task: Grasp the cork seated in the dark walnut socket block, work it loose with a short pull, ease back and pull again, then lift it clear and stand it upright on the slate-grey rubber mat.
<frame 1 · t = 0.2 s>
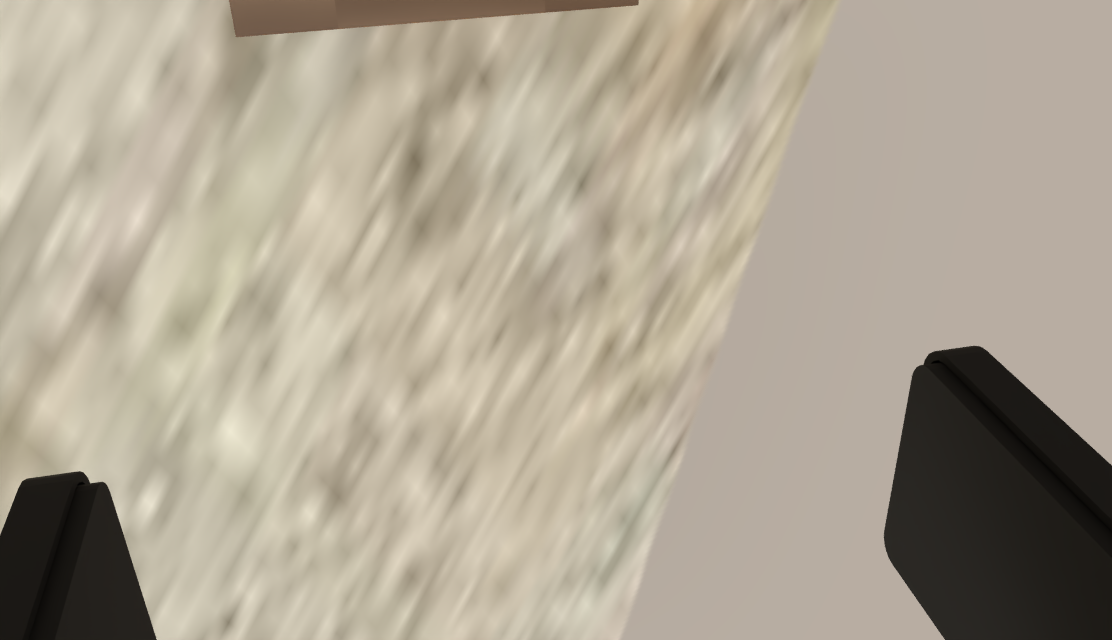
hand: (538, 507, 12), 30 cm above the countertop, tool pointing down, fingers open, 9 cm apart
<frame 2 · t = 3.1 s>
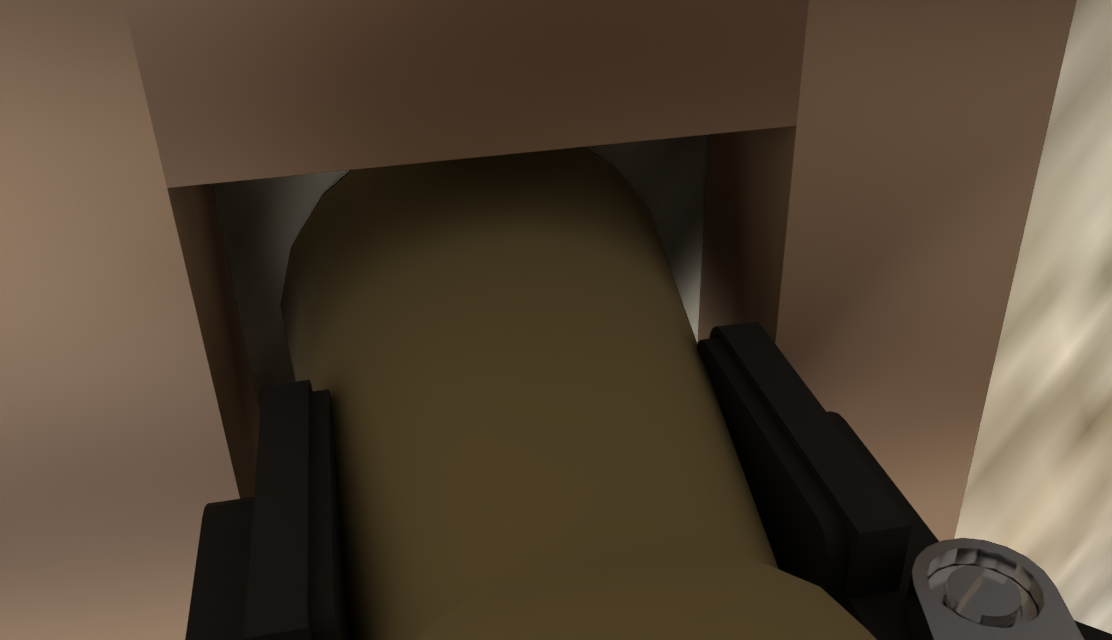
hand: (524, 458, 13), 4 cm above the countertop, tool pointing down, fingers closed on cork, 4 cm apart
cork: (478, 301, 16), resting in socket block, touching gripper
socket block: (480, 305, 16), on the countertop
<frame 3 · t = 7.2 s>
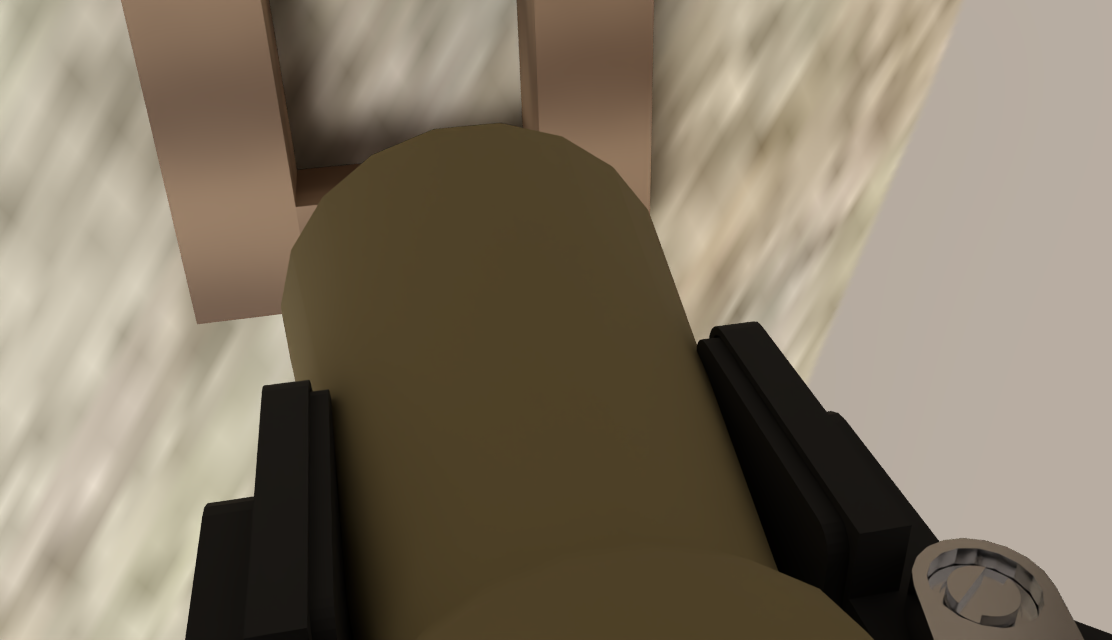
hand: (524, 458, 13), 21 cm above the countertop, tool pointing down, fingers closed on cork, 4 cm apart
cork: (478, 302, 16), point 17 cm above the countertop, touching gripper
socket block: (400, 45, 31), on the countertop
when the fingers open (6 cm above the countertop, at t = 11.6 s): cork drops 1 cm, resting on rubber mat.
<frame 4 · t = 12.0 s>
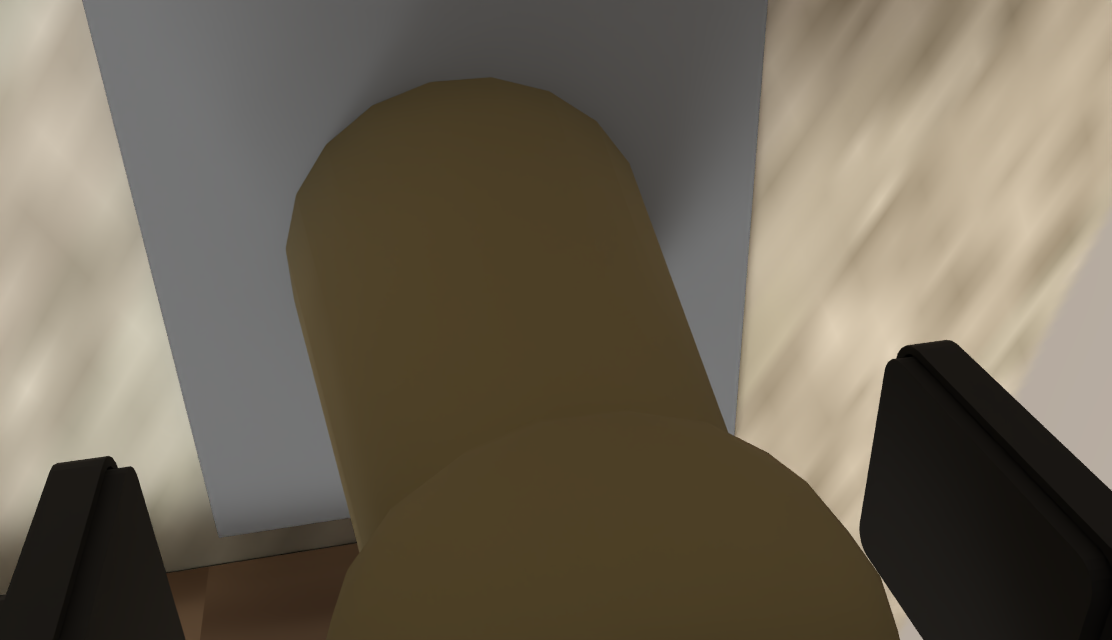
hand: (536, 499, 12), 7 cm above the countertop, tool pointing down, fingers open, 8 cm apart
rubber mat: (465, 256, 18), on the countertop
cork: (470, 250, 17), resting on rubber mat
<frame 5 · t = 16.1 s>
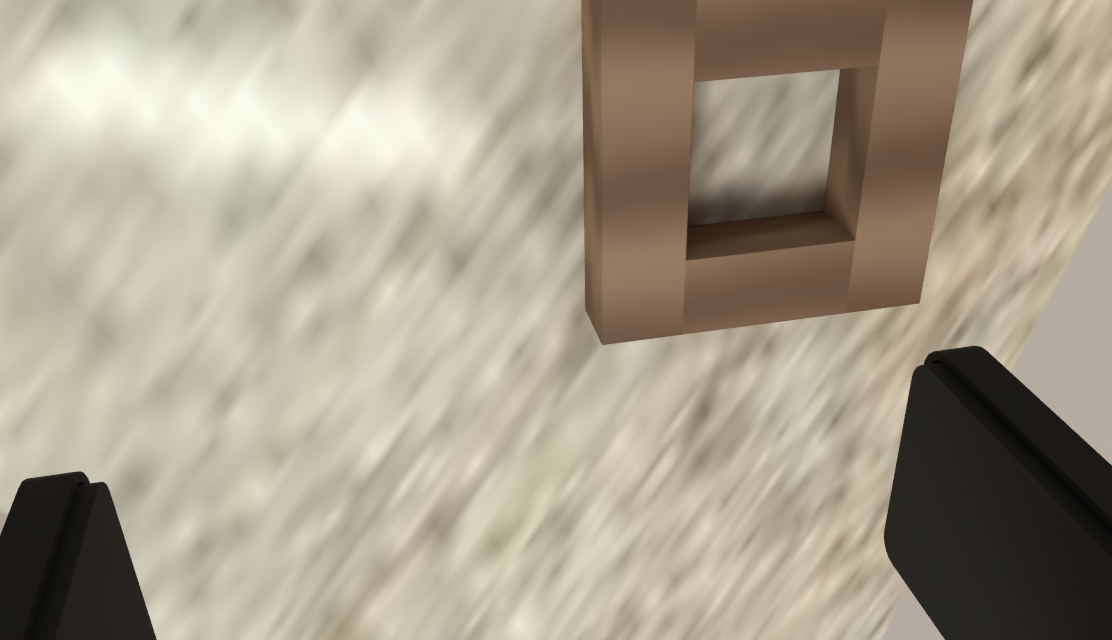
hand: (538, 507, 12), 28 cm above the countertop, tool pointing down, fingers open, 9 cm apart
socket block: (750, 139, 42), on the countertop
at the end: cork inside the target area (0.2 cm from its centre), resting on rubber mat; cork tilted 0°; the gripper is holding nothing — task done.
